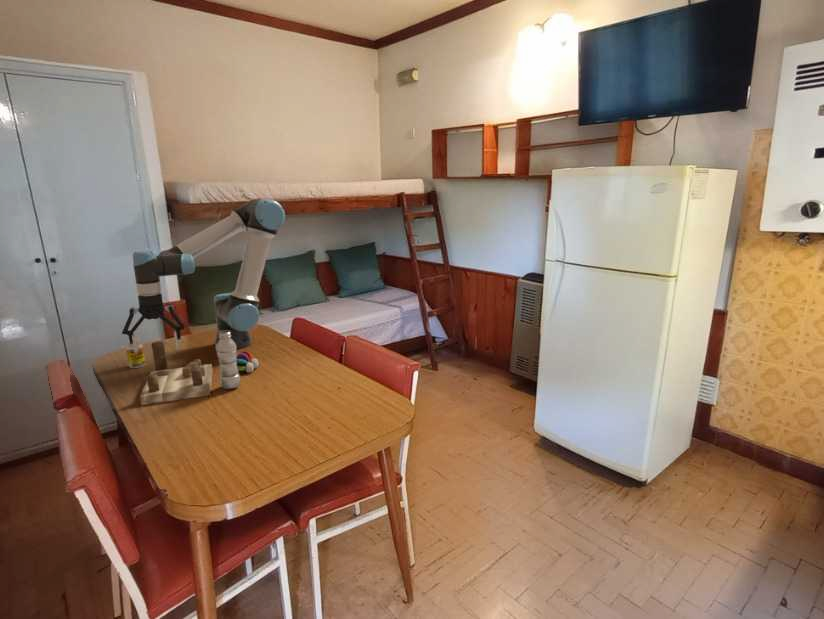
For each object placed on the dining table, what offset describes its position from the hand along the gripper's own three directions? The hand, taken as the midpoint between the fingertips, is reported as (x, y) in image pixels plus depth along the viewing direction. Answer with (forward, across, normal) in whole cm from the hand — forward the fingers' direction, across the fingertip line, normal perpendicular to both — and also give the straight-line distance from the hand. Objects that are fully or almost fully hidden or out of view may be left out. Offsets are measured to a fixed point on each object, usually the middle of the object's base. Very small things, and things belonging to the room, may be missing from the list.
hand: (157, 349), depth 171 cm
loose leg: (+8, -1, 0) cm, 9 cm away
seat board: (+8, -9, +19) cm, 22 cm away
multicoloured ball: (+8, -30, +11) cm, 33 cm away
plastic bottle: (+8, -25, +26) cm, 37 cm away
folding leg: (+5, -13, +14) cm, 20 cm away
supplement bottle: (+9, +9, -9) cm, 16 cm away
